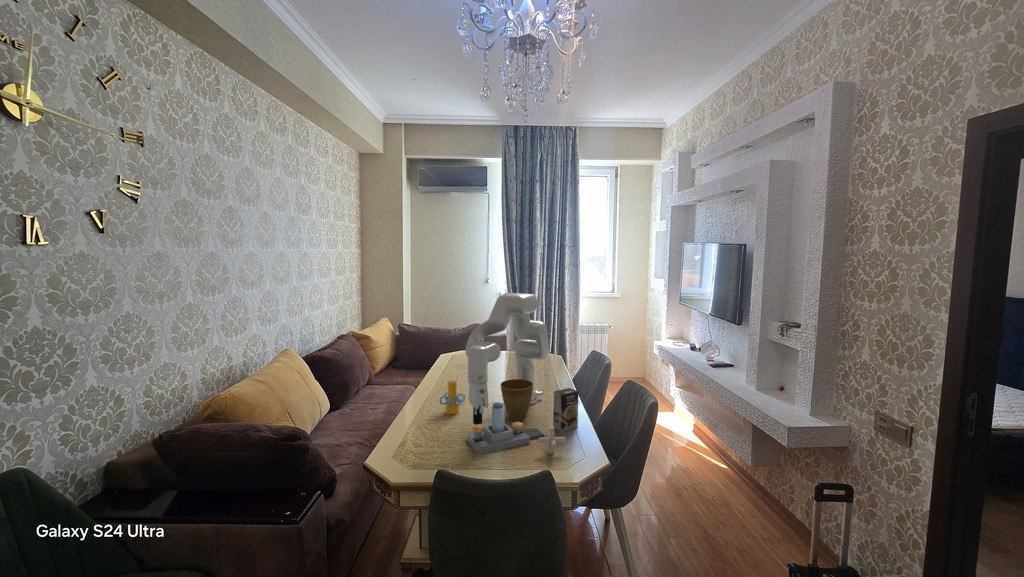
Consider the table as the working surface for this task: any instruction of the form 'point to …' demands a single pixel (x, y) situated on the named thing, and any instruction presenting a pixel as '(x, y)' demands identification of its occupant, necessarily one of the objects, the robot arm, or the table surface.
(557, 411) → the coffee box
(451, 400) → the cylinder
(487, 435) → the housing
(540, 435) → the mat
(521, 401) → the plant pot
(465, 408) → the table surface
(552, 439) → the pipe connector
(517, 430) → the light orange ball
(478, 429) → the orange rounded knob
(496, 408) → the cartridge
